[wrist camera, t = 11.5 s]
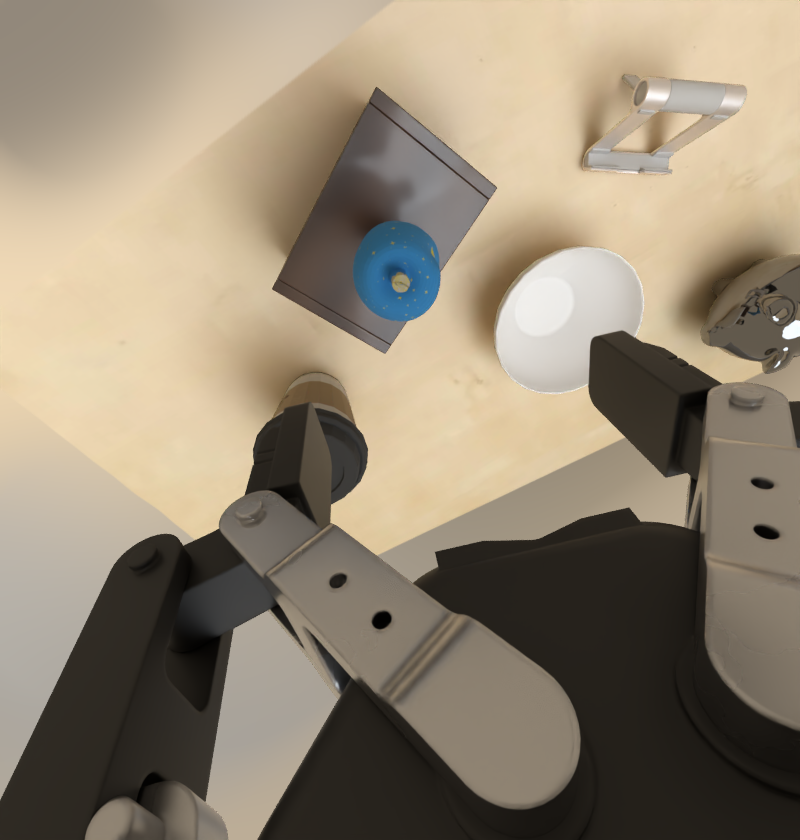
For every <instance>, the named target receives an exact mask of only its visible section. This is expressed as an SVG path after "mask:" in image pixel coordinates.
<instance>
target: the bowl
mask: <svg viewBox="0 0 800 840" xmlns="http://www.w3.org/2000/svg"><path fill="white" fill-rule="evenodd" d="M643 310H644V295H643V288H642V283H641V281H640V279H639V277H638V275H637V273H636V271H635V269H634V268H633V267H632V266H631V265H630V264H629V263H628V262H627V261H626V260H625V259H624V258H623V257H622V256H620V255H618V254H616V253H614V252H612V251H609V250H607V249H605V248H598V247H587V246H576V247H570V248H565V249H560V250H557V251H555V252H553V253H551V254H548V255H546V256H544V257H542V258H540V259H538V260H536V261H535V262H533V263H532V264H531V265H530V266H528V267H527V268H526V269H525V270H523V271H522V272H521V273H520V274H519V275H518V276H517V278H516V279H515V280H514V281H513V283H512V284H511V285H510V286H509V288H508V289H507V290H506V292H505V294H504V296H503V298H502V300H501V302H500V305H499V307H498V310H497V315H496V319H495V324H494V347H495V350H496V353H497V355H498V358H499V361H500V364H501V366H502V368H503V369H504V370H505V372H506V373H507V374H508V375H509V377H510V378H511V379H512V380H513V381H515V382H516V383H518V384H519V385H520V386H522V387H523V388H525V389H528V390H531V391H534V392H537V393H542V394H560V393H565V392H570V391H575V390H578V389H580V388H582V387H585V386H587V385H589V360H590V344H591V340H592V338H593V337H595V336H599V335H603V334H607V333H612V332H616V331H620V330H623V331H625V332H627V333H628V334H630V335H632V336H633V337H635V338H636V335H637V333H638V330H639V328H640V325H641V323H642V317H643Z"/></svg>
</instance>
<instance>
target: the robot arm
mask: <svg viewBox="0 0 800 840" xmlns="http://www.w3.org/2000/svg"><path fill="white" fill-rule="evenodd" d="M588 387H589V394H590V398H591V400H592V402H593V404H594V406H595V407H596V408H597V409H598V410H599V411H600V412H601V413H602V414H603V415H604V416H605V417H606V418H607V419H608V420H609V421H610V422H611V423H612V424H613V425H614V426H615V427H616V428H617V429H618V430H619V431H620V432H621V433H622V434H623V435H624V436H625V437H626V438H627V439H628V440H629V441H630V442H631V443H632V444H633V445H634V446H635V447H636V448H637V449H638V450H639V451H640V452H641V453H642V454H643V455H644V456H645V457H646V458H647V459H648V460H649V461H650V462H651V463H652V464H653V465H654V466H655V467H656V468H657V469H658V470H659V471H660V472H661V473H662V474H663V475H664V476H665V477H671V476H675V475H679V474H684V473H688V474H689V475H690V481H689V485H688V494H687V505H686V517H685V527H681V526H676V525H672V524H666V523H658V522H640V520H639V519H638V518H637V517H636V515H635V514H634V513H633V512H632V511H631V509H630V508H625V509H621V510H616V511H612V512H607V513H603V514H599V515H594V516H590V517H586V518H581V519H579V520H577V521H575V522H573V523H571V524H569V525H567V526H565V527H563V528H561V529H559V530H557V531H555V532H553V533H551V534H548V535H546V536H544V537H543V538H540V539H536V540H514V541H513V540H512V541H481V542H477V543H472V544H468V545H463V546H459V547H455V548H450V549H446V550H442V551H437V552H435V554H436V558H437V563H438V567H437V568H435V569H433V570H431V571H429V572H428V573H426V574H425V575H423V576H421V577H420V578H419V579H417V580H416V581H415V582H414V583H412V582H411V581H409V580H408V579H407V578H405V577H404V576H403V575H401V574H400V573H399V572H397V571H396V570H395V569H393V568H392V567H391V566H390V565H388V564H387V563H385V562H384V561H383V560H382V559H380V558H379V557H378V556H376V555H375V554H374V553H372V552H371V551H370V550H368V549H367V548H366V547H364V546H363V545H362V544H360V543H359V542H358V541H356V540H355V539H354V538H352V537H351V536H350V535H348V534H347V533H346V532H345V531H343V530H342V529H341V528H339V527H338V526H336V525H334V524H332V523H330V513H331V477H332V463H331V457H330V452H329V448H328V445H327V442H326V439H325V437H324V434H323V431H322V428H321V425H320V422H319V420H318V417H317V414H316V411H315V409H314V406H313V404H312V403H311V402H307V403H302V404H298V405H294V406H289V407H285V408H284V411H283V415H282V420H281V424H280V426H279V427H275V428H270V429H269V430H268V432H267V433H266V434H265V435H264V436H263V438H262V439H261V440H260V442H259V445H258V449H257V455H256V456H255V460H254V465H253V467H252V471H251V474H250V478H249V481H248V485H247V489H246V492H245V496H243V497H241V498H240V499H238V500H236V501H235V502H234V503H232V504H231V505H230V506H229V507H228V508H227V509H226V510H225V511H224V513H223V514H222V516H221V518H220V521H219V529H217V530H216V531H214V532H212V533H210V534H208V535H206V536H203V537H201V538H199V539H197V540H195V541H193V542H191V543H188V544H186V545H184V546H183V545H182V543H181V542H180V540H179V539H178V538H177V537H176V536H174V535H171V534H160V535H156V536H152V537H149V538H147V539H145V540H143V541H141V542H139V543H137V544H136V545H134V546H133V547H131V548H130V549H129V550H127V551H126V552H125V553H124V554H123V555H122V556H121V557H120V558H119V559H118V560H117V562H116V563H115V564H114V566H113V568H112V569H111V571H110V573H109V576H108V578H107V580H106V582H105V584H104V586H103V588H102V590H101V592H100V594H99V596H98V599H97V600H96V603H95V605H94V607H93V609H92V611H91V613H90V615H89V617H88V619H87V621H86V623H85V625H84V627H83V630H82V632H81V634H80V636H79V638H78V640H77V642H76V644H75V646H74V648H73V650H72V652H71V654H70V657H69V659H68V661H67V663H66V665H65V667H64V669H63V671H62V673H61V676H60V677H59V680H58V681H57V684H56V686H55V688H54V690H53V692H52V694H51V696H50V698H49V700H48V702H47V704H46V706H45V708H44V711H43V713H42V715H41V717H40V719H39V721H38V723H37V725H36V727H35V729H34V731H33V734H32V736H31V738H30V740H29V742H28V744H27V746H26V748H25V750H24V752H23V754H22V756H21V759H20V760H19V762H18V765H17V767H16V769H15V771H14V773H13V775H12V777H11V779H10V781H9V783H8V785H7V788H6V790H5V792H4V794H3V796H2V798H1V800H0V840H228V833H227V829H226V826H225V823H224V821H223V819H222V817H221V816H220V815H219V814H218V813H217V812H216V811H215V810H214V809H213V808H211V807H210V806H209V805H207V803H205V801H206V795H207V789H208V783H209V777H210V770H211V764H212V758H213V752H214V746H215V740H216V733H217V727H218V721H219V715H220V709H221V702H222V696H223V690H224V683H225V678H226V672H227V665H228V659H229V653H230V647H231V641H232V634H233V629H234V628H235V627H237V626H239V625H241V624H243V623H245V622H247V621H248V620H250V619H252V618H254V617H256V616H258V615H260V614H262V613H264V612H265V611H267V610H268V611H269V612H270V614H271V615H272V616H273V617H274V618H275V620H276V621H277V622H278V623H279V624H280V626H281V627H282V628H283V629H284V630H285V632H286V633H287V634H288V635H289V636H290V637H291V639H292V640H293V641H294V642H295V644H296V645H297V646H298V647H299V648H300V650H301V651H302V652H303V653H304V654H305V656H306V657H307V658H308V659H309V660H310V662H311V663H312V664H313V665H314V667H315V669H316V670H317V671H318V673H319V674H320V676H321V677H322V679H323V680H324V682H325V683H326V684H327V686H328V687H329V688H330V690H331V691H332V692H333V693H334V695H335V696H336V697H337V699H338V701H337V703H336V705H335V706H334V708H333V710H332V711H331V713H330V715H329V717H328V718H327V720H326V722H325V724H324V725H323V727H322V729H321V730H320V732H319V734H318V736H317V737H316V739H315V741H314V742H313V744H312V746H311V748H310V749H309V751H308V753H307V754H306V756H305V758H304V760H303V761H302V763H301V765H300V766H299V769H298V770H297V772H296V773H295V775H294V777H293V778H292V780H291V782H290V784H289V785H288V787H287V789H286V791H285V792H284V794H283V796H282V798H281V799H280V801H279V803H278V804H277V806H276V808H275V809H274V811H273V813H272V815H271V817H270V818H269V820H268V822H267V823H266V825H265V827H264V828H263V830H262V832H261V834H260V836H259V838H258V840H800V401H796V402H788V399H787V398H786V397H785V396H784V395H783V394H782V393H780V392H778V391H777V390H774V389H772V388H769V387H766V386H763V385H759V384H753V383H741V382H736V383H726V384H722V383H720V382H719V381H717V380H715V379H714V378H712V377H710V376H709V375H707V374H705V373H704V372H702V371H700V370H699V369H697V368H696V367H694V366H692V365H689V364H688V363H687V362H686V361H684V360H682V359H681V358H677V356H676V355H674V354H673V353H671V352H669V351H668V350H666V349H664V348H662V347H658V346H655V345H651V344H648V343H643V342H641V341H639V340H638V339H636V338H635V337H633V336H632V335H630V334H628V333H627V332H625V331H623V330H620V331H616V332H612V333H607V334H603V335H599V336H595V337H593V338H592V340H591V344H590V360H589V385H588Z"/></svg>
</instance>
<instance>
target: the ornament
mask: <svg viewBox="0 0 800 840" xmlns="http://www.w3.org/2000/svg"><path fill="white" fill-rule="evenodd" d="M440 276H441V275H440V268H439V253H438V249H437V246H436V244H435V242H434V240H433V239H432V238H431V237H430V236H429V235H428V234H427V233H426V232H425V231H423V230H422V229H421V228H419V227H418V226H416V225H414V224H411V223H407V222H401V221H387V222H384V223H381V224H379V225H377V226H375V227H374V228H372V229H371V230H370V231H369V232H368V233H367V234H366V236H365V237H364V239H363V240H362V242H361V244H360V246H359V248H358V250H357V252H356V255H355V258H354V263H353V280H354V285H355V288H356V291H357V293H358V295H359V297H360V299H361V300H362V301H363V303H364V304H365V305H366V306H367V308H369V309H370V310H371V311H372V312H373V313H375V314H376V315H378V316H380V317H382V318H384V319H388V320H391V321H400V322H402V321H409V320H413V319H415V318H417V317H419V316H421V315H422V314H424V313H425V312H426V311H427V310H428V309H429V308H430V307H431V306H432V304H433V303H434V301H435V299H436V296H437V294H438V291H439V286H440Z"/></svg>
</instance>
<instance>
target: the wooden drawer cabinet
mask: <svg viewBox="0 0 800 840" xmlns="http://www.w3.org/2000/svg"><path fill="white" fill-rule="evenodd" d="M496 189H497V187H496V186H495V185H494V184H492V183H491V182H490V181H489V180H488V179H486V178H485V177H484V176H483V175H482V174H480V173H479V172H478V171H477V170H476V169H474V168H473V167H472V166H471V165H470V164H468V163H467V162H466V161H465V160H464V159H463V158H461V157H460V156H459V155H458V154H457V153H455V152H454V151H453V150H452V149H451V148H449V147H448V146H447V145H446V144H445V143H443V142H442V141H441V140H440V139H439V138H437V137H436V136H435V135H434V134H433V133H431V132H430V131H429V130H428V129H427V128H425V127H424V126H423V125H422V124H421V123H419V122H418V121H417V120H416V119H415V118H413V117H412V116H411V115H410V114H409V113H407V112H406V111H405V110H404V109H403V108H401V107H400V106H399V105H398V104H397V103H395V102H394V101H393V100H392V99H391V98H390V97H388V96H387V95H386V94H385V93H384V92H382V91H381V90H380V89H379V88H378V87H376V88H375V90H374V92H373V94H372V95H371V97H370V99H369V101H368V102H367V104H366V106H365V108H364V110H363V112H362V114H361V116H360V118H359V120H358V122H357V124H356V126H355V128H354V129H353V131H352V133H351V135H350V137H349V139H348V141H347V143H346V145H345V147H344V149H343V151H342V153H341V155H340V157H339V159H338V161H337V162H336V164H335V166H334V168H333V170H332V172H331V174H330V176H329V178H328V180H327V182H326V184H325V186H324V188H323V190H322V192H321V194H320V196H319V197H318V199H317V201H316V203H315V205H314V207H313V209H312V211H311V213H310V215H309V217H308V219H307V221H306V223H305V225H304V227H303V229H302V230H301V232H300V234H299V236H298V238H297V240H296V242H295V244H294V246H293V248H292V250H291V252H290V254H289V256H288V258H287V260H286V262H285V264H284V266H283V268H282V270H281V272H280V274H279V276H278V278H277V280H276V282H275V284H274V286H273V288H272V289H273V290H274V291H276V292H278V293H279V294H281V295H283V296H285V297H286V298H288V299H290V300H292V301H293V302H295V303H297V304H299V305H300V306H302V307H304V308H306V309H307V310H309V311H311V312H313V313H314V314H316V315H318V316H320V317H321V318H323V319H325V320H327V321H328V322H330V323H332V324H334V325H335V326H337V327H339V328H341V329H342V330H344V331H346V332H348V333H349V334H351V335H353V336H355V337H356V338H358V339H360V340H362V341H363V342H365V343H367V344H369V345H370V346H372V347H374V348H376V349H377V350H379V351H381V352H383V353H384V354H385V353H386V352H387V351H388V349H389V348H390V346H391V344H392V343H393V342H394V340H395V339H396V337H397V336H398V334H399V333H400V331H401V330H402V328H403V327H404V325H405V324H406V322H407V321H402V322H400V321H391V320H388V319H384V318H382V317H380V316H378V315H376V314H375V313H373V312H372V311H371V310H370V309H369V308H367V306H366V305H365V304H364V303H363V301H362V300H361V299H360V297H359V295H358V293H357V291H356V288H355V285H354V280H353V263H354V258H355V255H356V252H357V250H358V248H359V246H360V244H361V242H362V240H363V239H364V237H365V236H366V234H367V233H368V232H369V231H370V230H371V229H372V228H374V227H375V226H377V225H379V224H381V223H384V222H387V221H401V222H407V223H411V224H414V225H416V226H418V227H419V228H421V229H422V230H423V231H425V232H426V233H427V234H428V235H429V236H430V237H431V238H432V239H433V240H434V242H435V244H436V246H437V249H438V253H439V268H440V272H441V270H442V269H443V267H444V266H445V264H446V263H447V262H448V260H449V259H450V257H451V256H452V254H453V253H454V251H455V250H456V248H457V247H458V245H459V244H460V242H461V241H462V239H463V238H464V236H465V235H466V233H467V232H468V230H469V229H470V227H471V226H472V224H473V223H474V222H475V220H476V219H477V217H478V216H479V214H480V213H481V211H482V210H483V208H484V207H485V205H486V204H487V202H488V201H489V199H490V198H491V196H492V195H493V193H494V192H495V190H496Z"/></svg>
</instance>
